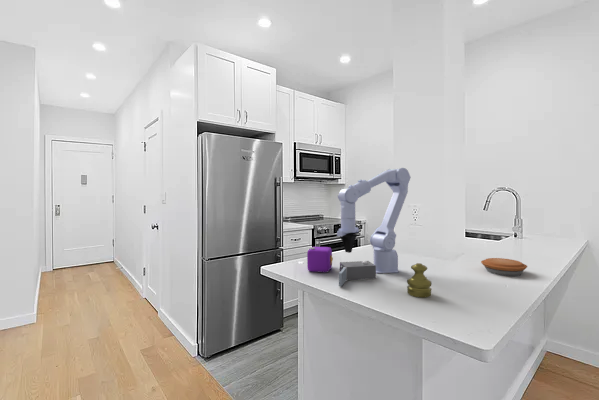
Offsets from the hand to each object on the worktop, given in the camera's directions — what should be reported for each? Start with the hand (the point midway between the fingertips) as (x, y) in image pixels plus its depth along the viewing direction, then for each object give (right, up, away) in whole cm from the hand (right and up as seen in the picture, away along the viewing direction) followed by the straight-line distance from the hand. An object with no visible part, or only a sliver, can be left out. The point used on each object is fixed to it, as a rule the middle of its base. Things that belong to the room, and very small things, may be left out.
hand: (348, 252), depth 120 cm
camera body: (+3, -9, -1) cm, 10 cm away
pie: (+63, -9, +2) cm, 64 cm away
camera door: (-4, -9, -10) cm, 15 cm away
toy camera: (-10, -10, +11) cm, 18 cm away
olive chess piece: (+19, -10, -22) cm, 31 cm away
